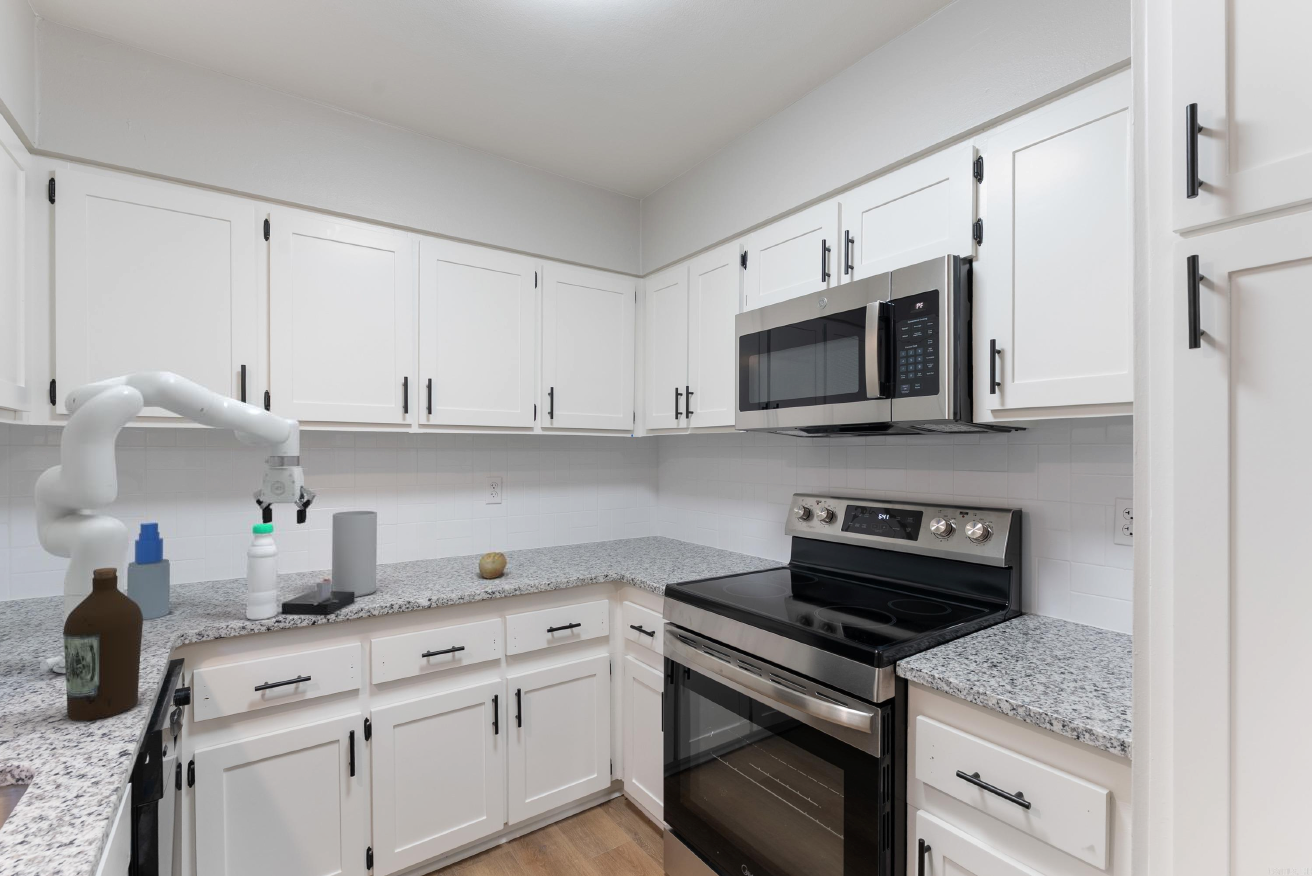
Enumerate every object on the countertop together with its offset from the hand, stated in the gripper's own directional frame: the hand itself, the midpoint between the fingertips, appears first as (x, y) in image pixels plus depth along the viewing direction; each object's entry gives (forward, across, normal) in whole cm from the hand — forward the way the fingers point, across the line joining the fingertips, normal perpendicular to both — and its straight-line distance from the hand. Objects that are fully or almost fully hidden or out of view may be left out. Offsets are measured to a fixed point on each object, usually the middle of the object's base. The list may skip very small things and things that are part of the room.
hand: (284, 522), depth 177 cm
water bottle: (+24, -1, -8) cm, 26 cm away
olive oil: (+24, +8, -66) cm, 70 cm away
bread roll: (+25, +46, +47) cm, 70 cm away
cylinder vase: (+25, +10, +19) cm, 33 cm away
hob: (+24, +9, +2) cm, 26 cm away
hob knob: (+21, +13, -2) cm, 25 cm away
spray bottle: (+24, -32, -8) cm, 41 cm away
